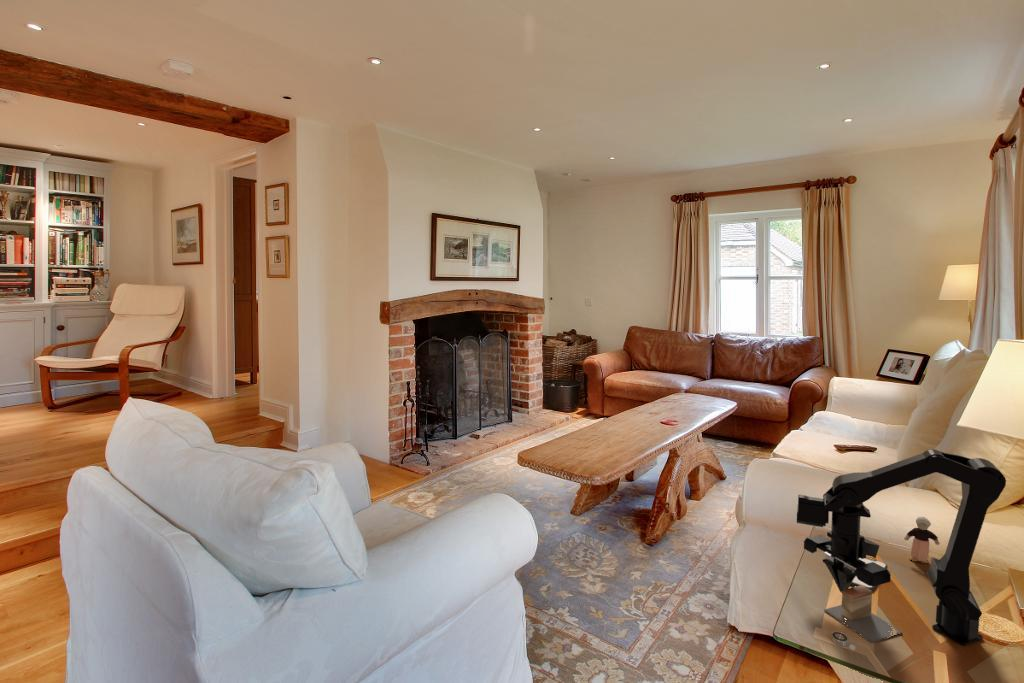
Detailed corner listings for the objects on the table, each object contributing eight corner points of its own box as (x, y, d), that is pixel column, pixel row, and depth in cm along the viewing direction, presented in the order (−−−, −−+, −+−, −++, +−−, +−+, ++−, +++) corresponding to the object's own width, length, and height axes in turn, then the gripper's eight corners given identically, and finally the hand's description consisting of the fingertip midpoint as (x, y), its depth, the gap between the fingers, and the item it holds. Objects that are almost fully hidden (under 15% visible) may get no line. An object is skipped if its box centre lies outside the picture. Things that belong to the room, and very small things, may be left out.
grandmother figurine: (907, 562, 147) (910, 518, 145) (902, 555, 151) (904, 512, 149) (940, 566, 145) (943, 521, 143) (934, 559, 148) (937, 515, 147)
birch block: (871, 615, 125) (872, 591, 124) (851, 621, 123) (852, 596, 122) (860, 608, 127) (861, 585, 126) (841, 614, 125) (842, 590, 125)
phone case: (872, 595, 134) (888, 569, 145) (872, 589, 134) (889, 563, 144) (833, 581, 140) (851, 557, 151) (833, 576, 140) (851, 552, 151)
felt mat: (902, 633, 119) (902, 632, 119) (871, 643, 116) (871, 641, 116) (853, 603, 130) (853, 601, 130) (824, 611, 127) (824, 609, 127)
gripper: (910, 542, 120) (907, 607, 121) (837, 509, 137) (835, 566, 139) (872, 551, 116) (869, 618, 118) (802, 516, 134) (801, 574, 136)
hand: (843, 592), depth 128 cm, fingers closed
